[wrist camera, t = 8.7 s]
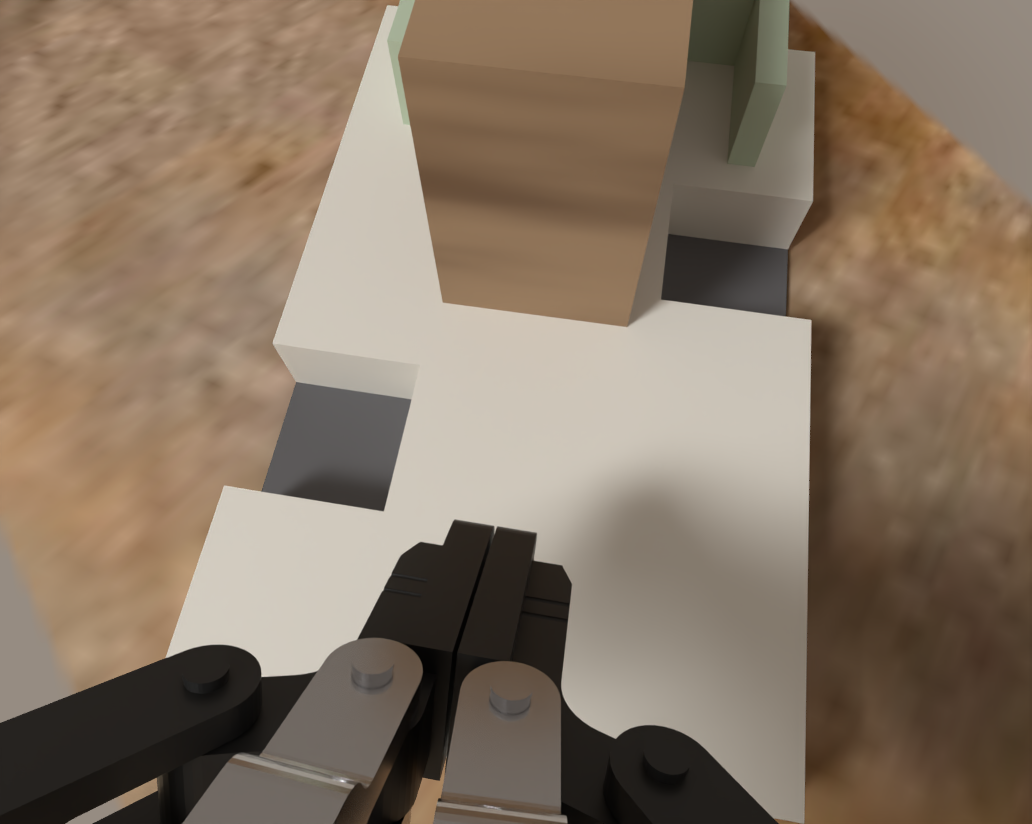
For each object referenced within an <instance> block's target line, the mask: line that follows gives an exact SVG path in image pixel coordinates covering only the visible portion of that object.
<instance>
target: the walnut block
mask: <svg viewBox="0 0 1032 824" xmlns="http://www.w3.org/2000/svg"><path fill="white" fill-rule="evenodd" d="M692 6H693V0H415V2H414V5H413V9H412V12H411V15H410V18H409V22H408V25H407V28H406V31H405V35H404V38H403V41H402V44H401V48H400V51H399V54H398V61H399V66H400V72H401V77H402V83H403V88H404V94H405V99H406V105H407V110H408V116H409V121H410V127H411V132H412V137H413V143H414V148H415V154H416V159H417V165H418V170H419V176H420V181H421V187H422V192H423V198H424V203H425V209H426V214H427V219H428V225H429V230H430V236H431V241H432V247H433V252H434V258H435V263H436V269H437V274H438V280H439V285H440V291H441V296H442V301H443V303H449V304H457V305H464V306H472V307H479V308H487V309H494V310H502V311H509V312H517V313H524V314H532V315H539V316H547V317H555V318H562V319H570V320H577V321H585V322H592V323H600V324H607V325H615V326H622V327H627V326H628V321H629V317H630V313H631V309H632V305H633V301H634V296H635V292H636V288H637V284H638V280H639V276H640V271H641V267H642V263H643V259H644V255H645V251H646V247H647V242H648V238H649V234H650V230H651V226H652V222H653V217H654V213H655V209H656V205H657V201H658V197H659V192H660V188H661V184H662V180H663V176H664V172H665V167H666V163H667V159H668V155H669V151H670V147H671V142H672V138H673V134H674V130H675V126H676V122H677V118H678V113H679V109H680V105H681V101H682V97H683V93H684V88H685V79H686V68H687V58H688V48H689V37H690V27H691V16H692Z"/></svg>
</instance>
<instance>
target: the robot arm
mask: <svg viewBox="0 0 1032 824" xmlns="http://www.w3.org/2000/svg"><path fill="white" fill-rule="evenodd" d="M494 532H495V534H494ZM536 540H537V533H536V532H530V531H524V530H518V529H512V528H505V527H499V526H497V528H496V531H495V527H494V526H492V525H486V524H480V523H474V522H468V521H462V520H456V519H455V520H454V521H453V523H452V525H451V527H450V529H449V532H448V534H447V536H446V539H445V541H444V543H443V545H437V544H431V543H425V542H419V543H418V544H416V545H415V546H413V547H412V548H410V549H409V550H407V551H406V552H405V553H403V554H402V555H401V556H400V558H399V559H398V561H397V563H396V565H395V567H394V569H393V571H392V574H391V576H390V577H389V579H388V581H387V583H386V585H385V587H384V590H383V591H382V592H381V594H380V596H379V598H378V600H377V602H376V604H375V606H374V608H373V610H372V612H371V614H370V616H369V617H368V619H367V621H366V623H365V625H364V627H363V629H362V631H361V633H360V635H359V637H358V639H357V640H355V641H351V642H348V643H346V644H344V645H342V646H340V647H338V648H337V649H335V650H334V651H333V652H332V653H331V654H330V655H329V656H328V657H327V658H326V660H325V661H324V663H323V664H322V666H321V667H320V668H319V670H318V671H316V672H312V673H307V674H300V675H287V676H270V677H262V676H261V667H260V664H259V662H258V660H257V659H256V658H255V657H254V656H253V655H252V654H251V653H249V652H248V651H246V650H244V649H241V648H239V647H235V646H230V645H221V644H220V645H205V646H199V647H195V648H191V649H188V650H185V651H183V652H180V653H178V654H175V655H173V656H170V657H167V658H165V659H162V660H160V661H157V662H155V663H152V664H150V665H147V666H144V667H142V668H139V669H137V670H134V671H132V672H129V673H127V674H124V675H122V676H119V677H116V678H114V679H111V680H109V681H106V682H104V683H101V684H99V685H96V686H94V687H91V688H88V689H86V690H83V691H81V692H78V693H76V694H73V695H71V696H68V697H66V698H63V699H60V700H58V701H55V702H53V703H50V704H48V705H45V706H43V707H40V708H38V709H35V710H33V711H30V712H27V713H25V714H22V715H20V716H17V717H15V718H12V719H10V720H7V721H4V722H2V723H0V824H65V823H67V822H68V821H70V820H72V819H74V818H75V817H77V816H79V815H82V814H83V813H85V812H88V811H90V810H92V809H94V808H96V807H98V806H100V805H102V804H104V803H106V802H108V801H110V800H112V799H114V798H116V797H118V796H120V795H122V794H124V793H126V792H128V791H130V790H132V789H134V788H136V787H138V786H140V785H142V784H144V783H146V782H149V781H151V780H153V779H155V778H157V785H158V791H156V792H154V793H152V794H150V795H148V796H146V797H144V798H142V799H140V800H138V801H136V802H134V803H133V804H131V805H129V806H127V807H125V808H123V809H121V810H119V811H117V812H115V813H113V814H111V815H109V816H107V817H105V818H103V819H101V820H99V821H97V822H95V823H93V824H410V819H411V807H412V806H413V804H414V802H415V800H416V797H417V794H418V790H419V787H420V784H421V781H422V777H423V778H428V779H433V780H439V781H440V778H441V774H442V770H443V767H444V763H445V760H446V768H445V778H444V784H443V789H442V795H441V798H439V799H438V802H437V807H436V811H435V817H434V822H433V824H778V823H777V822H776V821H775V820H774V819H773V818H772V816H771V815H770V814H769V813H768V812H767V811H766V810H765V809H764V808H763V807H762V806H761V805H760V804H759V803H758V802H757V801H756V800H755V799H754V798H753V797H752V796H751V795H750V794H749V793H748V792H747V791H746V790H745V789H744V788H743V787H742V786H741V785H740V784H739V783H738V782H737V781H736V780H735V779H734V778H733V777H732V776H731V775H730V774H729V773H728V772H727V771H726V770H725V769H724V768H723V767H722V766H721V765H720V764H719V763H718V761H717V760H716V759H715V758H714V757H713V756H712V755H711V754H710V753H709V752H708V751H707V750H706V749H705V748H704V747H702V746H701V745H700V744H699V743H698V742H697V741H695V740H694V739H692V738H691V737H689V736H687V735H685V734H684V733H682V732H679V731H677V730H674V729H671V728H667V727H664V726H657V725H643V726H637V727H633V728H630V729H628V730H626V731H624V732H623V733H621V734H620V735H619V736H618V737H617V738H616V739H615V738H613V737H611V736H609V735H607V734H604V733H602V732H600V731H598V730H596V729H594V728H592V727H590V726H589V725H587V724H586V723H585V722H583V721H582V720H581V719H580V718H578V717H577V716H576V715H575V714H574V713H573V711H572V710H571V709H570V708H569V706H568V705H567V703H566V701H565V699H564V697H563V694H562V689H561V681H562V671H563V662H564V653H565V644H566V635H567V626H568V617H569V608H570V599H571V590H572V583H571V581H570V579H569V577H568V575H567V574H566V572H565V570H564V568H563V566H562V565H557V564H551V563H545V562H539V561H534V555H535V548H536ZM446 756H447V758H446Z"/></svg>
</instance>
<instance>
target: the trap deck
mask: <svg viewBox="0 0 1032 824" xmlns="http://www.w3.org/2000/svg"><path fill="white" fill-rule="evenodd" d="M789 1H790V0H693V6H692V16H691V27H690V37H689V48H688V58H687V68H686V79H685V88H684V93H683V97H682V101H681V105H680V109H679V113H678V118H677V122H676V126H675V130H674V134H673V138H672V142H671V147H670V151H669V155H668V159H667V163H666V167H665V172H664V176H663V180H662V184H661V188H660V192H659V197H658V201H657V205H656V209H655V213H654V217H653V222H652V226H651V230H650V234H649V238H648V242H647V247H646V251H645V255H644V259H643V263H642V267H641V271H640V276H639V280H638V284H637V288H636V292H635V296H634V301H633V305H632V309H631V313H630V317H629V321H628V326H627V327H622V326H615V325H607V324H600V323H592V322H585V321H577V320H570V319H562V318H555V317H547V316H539V315H532V314H524V313H517V312H509V311H502V310H494V309H487V308H479V307H472V306H464V305H457V304H449V303H443V301H442V296H441V291H440V285H439V280H438V274H437V269H436V263H435V258H434V252H433V247H432V241H431V236H430V230H429V225H428V219H427V214H426V209H425V203H424V198H423V192H422V187H421V181H420V176H419V170H418V165H417V159H416V154H415V148H414V143H413V137H412V132H411V127H410V121H409V116H408V110H407V105H406V99H405V94H404V88H403V83H402V77H401V72H400V66H399V61H398V54H399V51H400V48H401V44H402V41H403V38H404V35H405V31H406V28H407V25H408V22H409V18H410V15H411V12H412V9H413V5H414V2H415V0H400V3H399V6H389V5H387V8H386V11H385V14H384V17H383V20H382V23H381V26H380V29H379V32H378V35H377V38H376V40H375V43H374V46H373V49H372V52H371V55H370V58H369V61H368V64H367V67H366V70H365V73H364V76H363V79H362V82H361V85H360V88H359V90H358V93H357V96H356V99H355V102H354V105H353V108H352V111H351V114H350V117H349V120H348V123H347V126H346V129H345V132H344V135H343V138H342V140H341V143H340V146H339V149H338V152H337V155H336V158H335V161H334V164H333V167H332V170H331V173H330V176H329V179H328V182H327V185H326V188H325V191H324V193H323V196H322V199H321V202H320V205H319V208H318V211H317V214H316V217H315V220H314V223H313V226H312V229H311V232H310V235H309V238H308V241H307V243H306V246H305V249H304V252H303V255H302V258H301V261H300V264H299V267H298V270H297V273H296V276H295V279H294V282H293V285H292V288H291V291H290V294H289V296H288V299H287V302H286V305H285V308H284V311H283V314H282V317H281V320H280V323H279V326H278V329H277V332H276V335H275V338H274V341H273V345H274V347H275V348H276V350H277V352H278V353H279V355H280V356H281V358H282V360H283V361H284V363H285V365H286V366H287V368H288V369H289V371H290V373H291V374H292V376H293V378H294V379H295V381H296V385H295V388H294V391H293V394H292V397H291V400H290V403H289V407H288V410H287V413H286V416H285V419H284V422H283V425H282V429H281V432H280V435H279V438H278V441H277V444H276V447H275V451H274V454H273V457H272V460H271V463H270V466H269V469H268V473H267V476H266V479H265V482H264V485H263V488H262V491H261V492H260V491H254V490H248V489H242V488H236V487H230V486H224V488H223V491H222V494H221V497H220V499H219V502H218V505H217V508H216V511H215V514H214V517H213V520H212V523H211V526H210V529H209V532H208V535H207V538H206V541H205V544H204V547H203V550H202V552H201V555H200V558H199V561H198V564H197V567H196V570H195V573H194V576H193V579H192V582H191V585H190V588H189V591H188V594H187V597H186V600H185V602H184V605H183V608H182V611H181V614H180V617H179V620H178V623H177V626H176V629H175V632H174V635H173V638H172V641H171V644H170V647H169V650H168V653H167V655H166V658H167V657H170V656H173V655H175V654H178V653H180V652H183V651H185V650H188V649H191V648H195V647H199V646H205V645H220V644H221V645H230V646H235V647H239V648H241V649H244V650H246V651H248V652H249V653H251V654H252V655H253V656H254V657H255V658H256V659H257V660H258V662H259V664H260V667H261V676H262V677H270V676H287V675H300V674H307V673H312V672H316V671H318V670H319V668H320V667H321V666H322V664H323V663H324V661H325V660H326V658H327V657H328V656H329V655H330V654H331V653H332V652H333V651H334V650H335V649H337V648H338V647H340V646H342V645H344V644H346V643H348V642H351V641H355V640H357V639H358V637H359V635H360V633H361V631H362V629H363V627H364V625H365V623H366V621H367V619H368V617H369V616H370V614H371V612H372V610H373V608H374V606H375V604H376V602H377V600H378V598H379V596H380V594H381V592H382V591H383V590H384V587H385V585H386V583H387V581H388V579H389V577H390V576H391V574H392V571H393V569H394V567H395V565H396V563H397V561H398V559H399V558H400V556H401V555H402V554H403V553H405V552H406V551H407V550H409V549H410V548H412V547H413V546H415V545H416V544H418V543H419V542H425V543H431V544H437V545H443V543H444V541H445V539H446V536H447V534H448V532H449V529H450V527H451V525H452V523H453V521H454V520H455V519H456V520H462V521H468V522H474V523H480V524H486V525H492V526H494V527H495V531H496V528H497V526H499V527H505V528H512V529H518V530H524V531H530V532H536V533H537V540H536V548H535V555H534V561H539V562H545V563H551V564H557V565H562V566H563V568H564V570H565V572H566V574H567V575H568V577H569V579H570V581H571V583H572V590H571V599H570V608H569V617H568V626H567V635H566V644H565V653H564V662H563V671H562V681H561V689H562V694H563V697H564V699H565V701H566V703H567V705H568V706H569V708H570V709H571V710H572V711H573V713H574V714H575V715H576V716H577V717H578V718H580V719H581V720H582V721H583V722H585V723H586V724H587V725H589V726H590V727H592V728H594V729H596V730H598V731H600V732H602V733H604V734H607V735H609V736H611V737H613V738H615V739H616V738H617V737H618V736H619V735H620V734H621V733H623V732H624V731H626V730H628V729H630V728H633V727H637V726H643V725H657V726H664V727H667V728H671V729H674V730H677V731H679V732H682V733H684V734H685V735H687V736H689V737H691V738H692V739H694V740H695V741H697V742H698V743H699V744H700V745H701V746H702V747H704V748H705V749H706V750H707V751H708V752H709V753H710V754H711V755H712V756H713V757H714V758H715V759H716V760H717V761H718V763H719V764H720V765H721V766H722V767H723V768H724V769H725V770H726V771H727V772H728V773H729V774H730V775H731V776H732V777H733V778H734V779H735V780H736V781H737V782H738V783H739V784H740V785H741V786H742V787H743V788H744V789H745V790H746V791H747V792H748V793H749V794H750V795H751V796H752V797H753V798H754V799H755V800H756V801H757V802H758V803H759V804H760V805H761V806H762V807H763V808H764V809H765V810H766V811H767V812H768V813H769V814H770V815H771V816H772V818H776V819H781V820H787V821H792V822H797V823H803V824H804V811H805V739H806V668H807V597H808V525H809V454H810V383H811V320H807V319H800V318H792V317H786V295H787V261H788V248H789V246H790V244H791V242H792V241H793V239H794V237H795V235H796V233H797V231H798V229H799V227H800V225H801V223H802V221H803V219H804V218H805V216H806V214H807V212H808V210H809V208H810V206H811V204H812V202H813V169H814V97H815V52H809V51H800V50H791V49H788V30H789ZM494 534H495V532H494ZM446 757H447V756H446Z"/></svg>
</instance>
